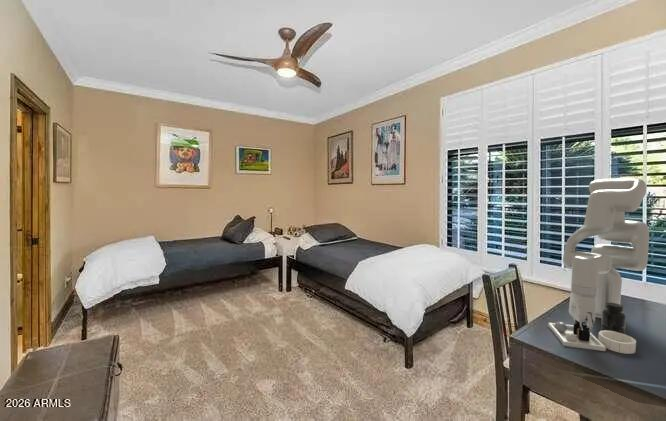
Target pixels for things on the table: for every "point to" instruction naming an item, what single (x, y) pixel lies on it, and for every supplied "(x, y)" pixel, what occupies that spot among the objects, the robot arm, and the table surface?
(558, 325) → the pebble
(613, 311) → the supplement bottle
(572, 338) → the pebble
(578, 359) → the table surface
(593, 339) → the parts tray
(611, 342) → the bowl
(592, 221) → the robot arm
